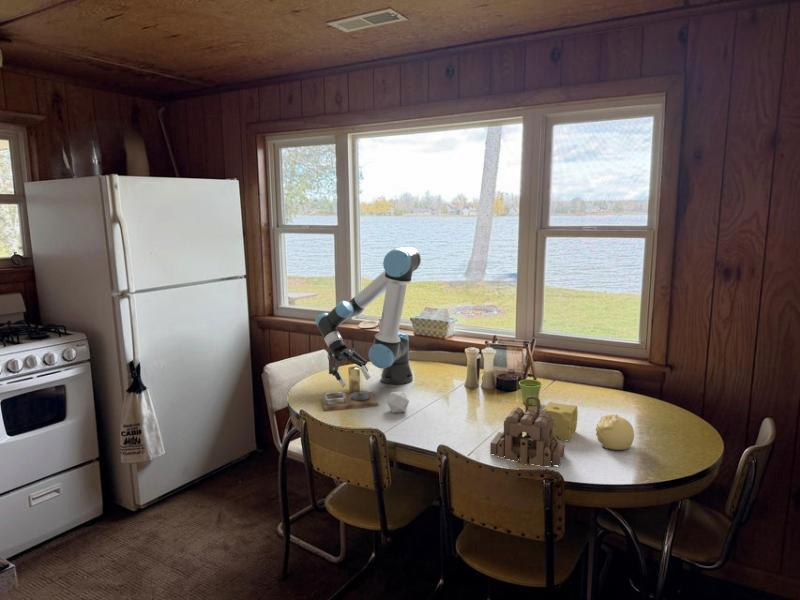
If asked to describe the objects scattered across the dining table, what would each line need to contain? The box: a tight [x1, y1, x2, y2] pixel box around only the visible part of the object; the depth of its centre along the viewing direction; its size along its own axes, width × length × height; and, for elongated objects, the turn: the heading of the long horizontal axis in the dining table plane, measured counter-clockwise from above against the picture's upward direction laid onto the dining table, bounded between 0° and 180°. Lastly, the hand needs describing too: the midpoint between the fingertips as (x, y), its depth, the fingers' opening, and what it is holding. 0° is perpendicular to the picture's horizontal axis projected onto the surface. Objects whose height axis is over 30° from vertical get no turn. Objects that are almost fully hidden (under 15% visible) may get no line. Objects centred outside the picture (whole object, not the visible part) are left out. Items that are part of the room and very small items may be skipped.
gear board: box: [321, 390, 379, 412], centre depth 226 cm, size 22×14×4 cm, turn 102°
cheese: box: [541, 401, 579, 442], centre depth 191 cm, size 10×11×10 cm
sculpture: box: [595, 413, 635, 451], centre depth 180 cm, size 11×12×11 cm
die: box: [386, 391, 410, 414], centre depth 215 cm, size 8×9×10 cm
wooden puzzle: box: [489, 396, 566, 467], centre depth 174 cm, size 22×15×19 cm, turn 63°
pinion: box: [347, 366, 361, 394], centre depth 239 cm, size 5×5×11 cm
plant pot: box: [518, 379, 543, 406], centre depth 222 cm, size 9×9×9 cm
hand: (356, 382), depth 238 cm, fingers open, 13 cm apart
